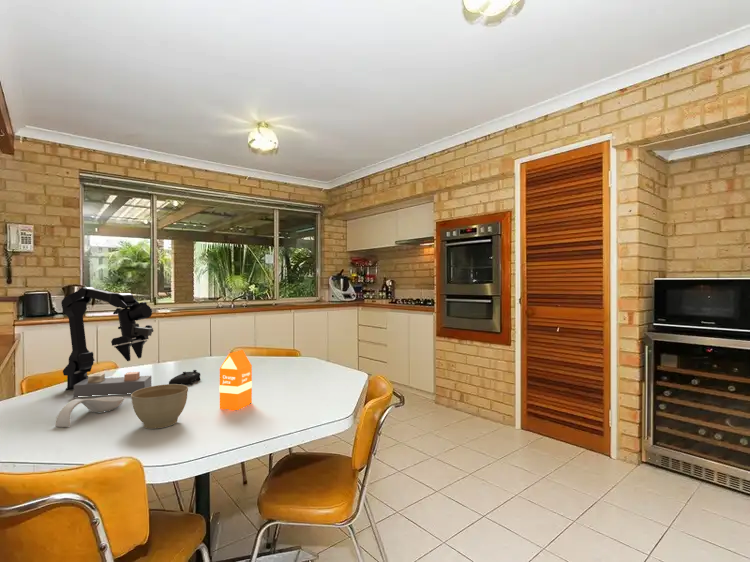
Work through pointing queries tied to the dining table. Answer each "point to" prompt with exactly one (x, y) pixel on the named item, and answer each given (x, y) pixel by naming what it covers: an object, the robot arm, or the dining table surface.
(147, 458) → the dining table surface
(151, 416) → the planter bowl
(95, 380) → the ash key
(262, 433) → the dining table surface
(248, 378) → the orange juice
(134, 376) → the terracotta key
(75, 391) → the key housing
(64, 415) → the spoon rest
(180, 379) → the gaming controller
